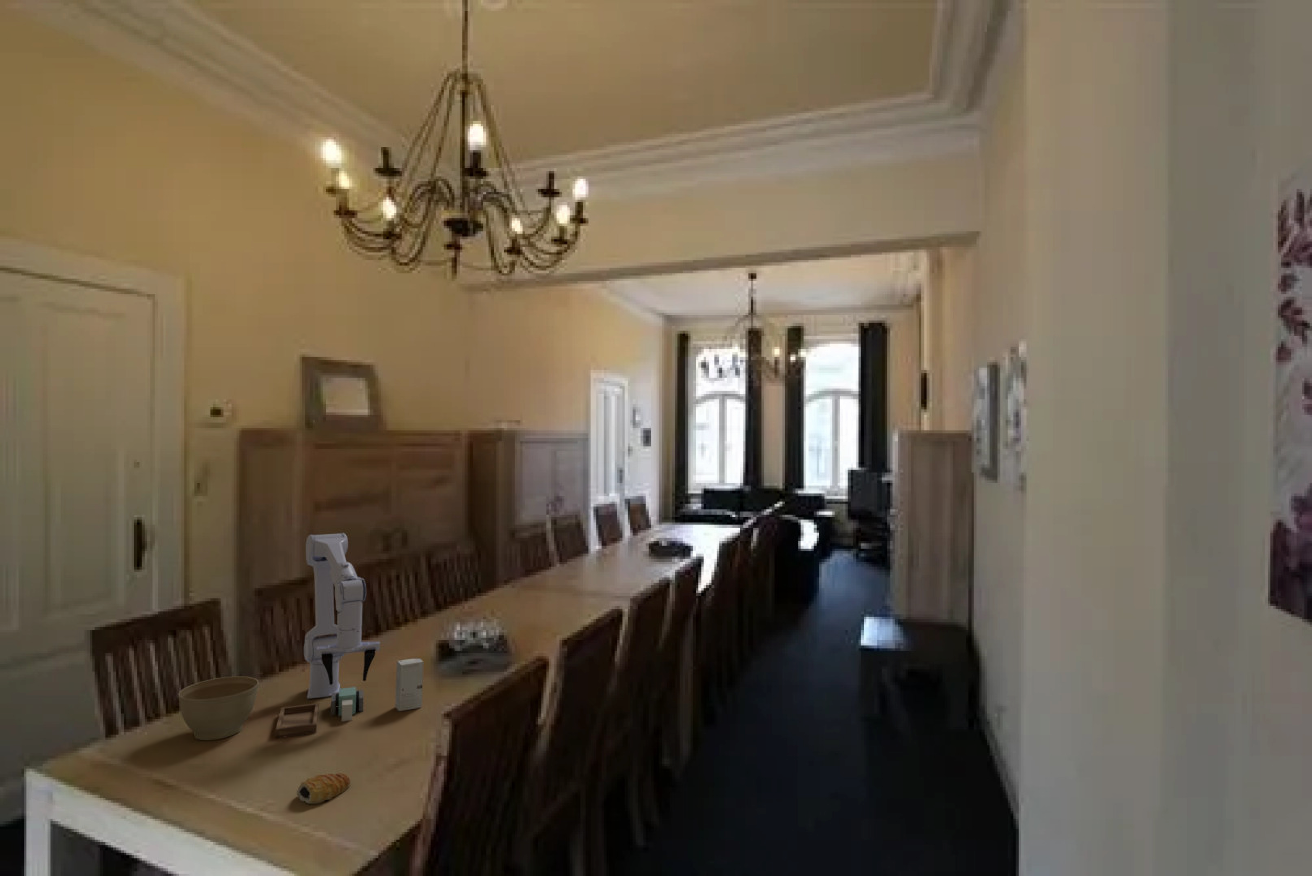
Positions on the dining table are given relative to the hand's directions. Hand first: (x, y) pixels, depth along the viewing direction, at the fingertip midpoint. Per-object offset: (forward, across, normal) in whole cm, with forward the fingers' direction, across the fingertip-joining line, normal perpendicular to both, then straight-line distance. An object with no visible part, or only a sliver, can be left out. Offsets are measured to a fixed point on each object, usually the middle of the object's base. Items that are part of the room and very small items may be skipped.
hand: (348, 681), depth 173 cm
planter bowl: (+10, -28, +2) cm, 30 cm away
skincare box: (+9, +15, +2) cm, 18 cm away
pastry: (+10, -4, -39) cm, 41 cm away
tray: (+9, -11, 0) cm, 14 cm away
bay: (+9, 0, +6) cm, 11 cm away
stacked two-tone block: (+9, 0, +3) cm, 10 cm away
